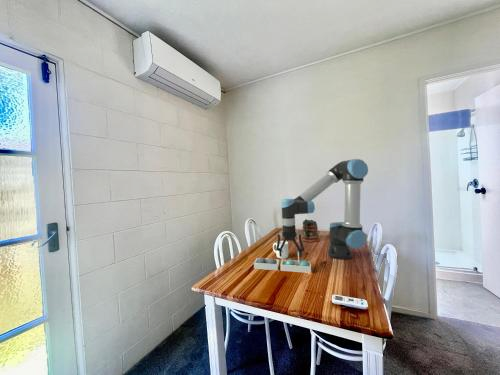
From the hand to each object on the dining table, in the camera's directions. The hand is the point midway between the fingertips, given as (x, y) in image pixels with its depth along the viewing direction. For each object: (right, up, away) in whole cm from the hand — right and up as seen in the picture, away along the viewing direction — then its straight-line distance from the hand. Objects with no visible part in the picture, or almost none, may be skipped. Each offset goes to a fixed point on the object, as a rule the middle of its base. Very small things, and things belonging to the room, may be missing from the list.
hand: (290, 262), depth 122 cm
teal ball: (0, -4, 0) cm, 4 cm away
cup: (-3, -4, +22) cm, 22 cm away
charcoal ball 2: (-11, -4, +3) cm, 12 cm away
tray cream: (+3, -4, -1) cm, 5 cm away
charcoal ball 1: (-17, -4, +5) cm, 18 cm away
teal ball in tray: (+7, -4, -2) cm, 8 cm away
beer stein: (+28, -2, +56) cm, 62 cm away
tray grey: (-14, -5, +4) cm, 15 cm away
